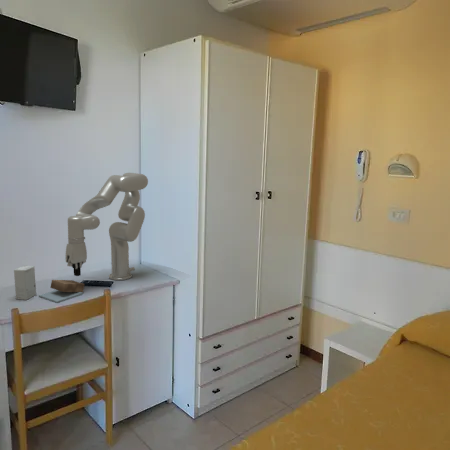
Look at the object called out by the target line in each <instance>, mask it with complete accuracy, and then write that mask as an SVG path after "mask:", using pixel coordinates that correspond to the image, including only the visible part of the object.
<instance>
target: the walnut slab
mask: <svg viewBox="0 0 450 450" xmlns="http://www.w3.org/2000/svg"><path fill="white" fill-rule="evenodd" d="M50 289H54V290H59V291H62V292H82V293H84V289H85V283H82V282H78V281H75V280H73V279H67V280H66V279H51V282H50Z"/></svg>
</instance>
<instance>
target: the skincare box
mask: <svg viewBox="0 0 450 450" xmlns="http://www.w3.org/2000/svg"><path fill="white" fill-rule="evenodd" d="M35 271H36V270H35V266H33V265H22V266H20V267H17V268H15V269H14V270H13V273H14V277H13V278H14V286H15V287H14V289H15V299H16V300H23V301H24V300H25V301H27V300H29V299H31V298H32V297H34V296H36V295H37V286H36V274H35V273H36V272H35Z"/></svg>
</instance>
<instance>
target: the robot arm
mask: <svg viewBox="0 0 450 450" xmlns="http://www.w3.org/2000/svg"><path fill="white" fill-rule="evenodd" d="M148 184H149V179H148V176H146V175H145V174H144V173H143V174H142V173H137V172H126V173H125V172H124V173H123V174H122V175H120V174H119V175H117V174H113V175H111V176H109V177H108V179H106V181H105V182H104V184H103V185H102V186H101V189H99V191H98V193H97V194H96V195H95V196H93V197H91V199H89V200H87V201H86V202H85V203H83V205H82V206H81V207H80V208H79V210H78V211H77V212H76V214H75V215H71V216H69V217H68V218H67V239H68V241H67V242H68V243H66V247H65V263H67V267H71V268H72V269H73V275H74V277H79V276H81V274H82V273H81V272H82V271H81V270H82V269H81V268H82V267H83V264H85V263H87V258H88V255H87V254H88V253H87V252H88V251H87V246H86V242H85V240H86V237H85V232H84V231H89V230H96V229H97V228H98V227H99V226H100V223H101V222H100V218H99V217H98V216H97V215H95V214H94V213H95V212H96V211H98V210H100V209H103V208H106V207H108V206H110V205H111V204H112V203H113V201H114V200H115V198H116V197H117V195H118V194H119V193H120V192H122V193H124V197H123V199H122V200H123V201H122V203H121V205H120V208H119V209H118V213H117V215H118V218H119V219H120V221H121V222H120V221H115V222H113V223H111V225H110V226H109V228H108V236H109V239H110V251H111V252H110V255H111V256H110V257H111V258H110V259H111V273H109V275H108V278H109V279H110V280H114V281H125V280H129V279H130V278H132V276H133V274H132V273H131V272H133V271H135V266H133V267H130V261H129V260H130V259H129V257H130V256H129V255H130V253H129V250H130V248H129V243H133V242H134V241H135V240H137V238H138V236H139V235H140V232H141V229H142V227H143V225H144V221H145V218H146V217H145V216H146V213H145V212H146V211H145V210H144V208H143V207H141V206H139V203H140V200H141V196H140V195H141V194H140V191H141V190H144V189H145V188H146V187H147V186H148ZM122 221H123V222H122Z"/></svg>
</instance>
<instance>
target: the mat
mask: <svg viewBox="0 0 450 450" xmlns="http://www.w3.org/2000/svg"><path fill="white" fill-rule="evenodd" d="M82 295H84V292H62V291H59V290H56V289H54V290H52V291H48V292H45V293H42V294H39V295H38V298H41V299H44V300H47V301H49V302H53V303H56V304H59V303H61V302H65V301H68V300H70V299H73V298H76V297H79V296H82Z"/></svg>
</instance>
